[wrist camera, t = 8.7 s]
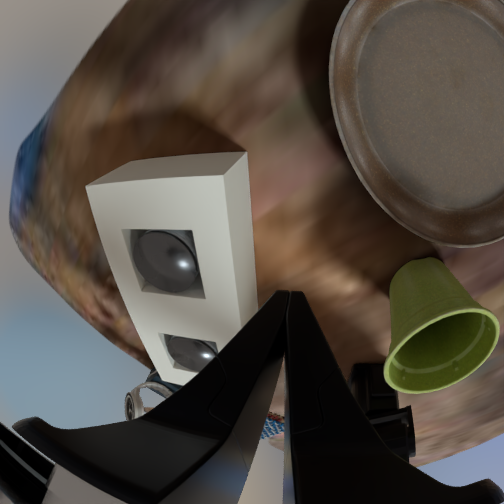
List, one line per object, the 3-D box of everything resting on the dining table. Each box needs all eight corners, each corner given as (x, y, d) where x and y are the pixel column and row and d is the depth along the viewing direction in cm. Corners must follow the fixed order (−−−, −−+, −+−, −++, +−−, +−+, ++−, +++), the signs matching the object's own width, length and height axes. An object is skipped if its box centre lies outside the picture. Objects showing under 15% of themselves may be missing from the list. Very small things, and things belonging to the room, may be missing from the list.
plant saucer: (376, -62, 8) (385, -80, 5) (561, 90, 8) (582, 96, 6) (281, 153, 19) (275, 165, 17) (477, 262, 20) (492, 284, 17)
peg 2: (235, 332, 29) (221, 375, 25) (193, 327, 30) (174, 366, 26) (229, 299, 27) (212, 343, 22) (183, 294, 28) (161, 335, 23)
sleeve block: (261, 353, 31) (251, 397, 26) (180, 342, 33) (162, 380, 28) (246, 151, 19) (223, 175, 14) (130, 161, 21) (85, 186, 16)
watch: (153, 350, 36) (119, 415, 27) (200, 380, 37) (176, 445, 28) (140, 362, 39) (110, 420, 29) (183, 389, 40) (160, 447, 31)
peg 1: (223, 252, 24) (201, 295, 19) (172, 250, 25) (143, 288, 20) (216, 199, 21) (188, 234, 17) (161, 200, 22) (125, 232, 18)
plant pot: (350, 298, 25) (356, 377, 17) (416, 218, 19) (459, 287, 12) (416, 331, 25) (432, 401, 18) (477, 268, 20) (516, 334, 13)
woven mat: (298, 418, 40) (297, 429, 39) (263, 432, 46) (261, 441, 44) (244, 397, 39) (241, 408, 37) (214, 413, 44) (212, 423, 43)
